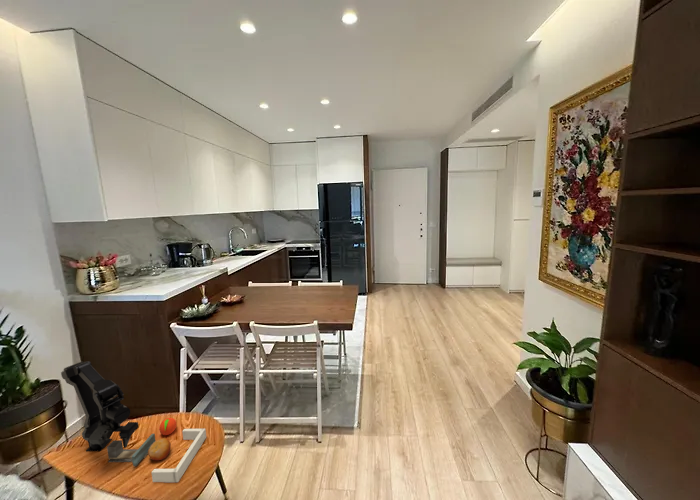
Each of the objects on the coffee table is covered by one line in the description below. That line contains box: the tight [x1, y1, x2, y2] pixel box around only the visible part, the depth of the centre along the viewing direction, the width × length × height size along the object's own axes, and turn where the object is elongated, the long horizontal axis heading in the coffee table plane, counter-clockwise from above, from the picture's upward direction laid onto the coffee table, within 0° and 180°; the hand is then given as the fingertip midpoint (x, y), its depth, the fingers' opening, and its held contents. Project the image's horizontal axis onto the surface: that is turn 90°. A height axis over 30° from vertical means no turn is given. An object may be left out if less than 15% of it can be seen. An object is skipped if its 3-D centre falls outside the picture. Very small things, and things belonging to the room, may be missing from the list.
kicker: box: [106, 433, 157, 467], centre depth 123 cm, size 15×12×6 cm
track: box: [107, 448, 139, 463], centre depth 124 cm, size 13×6×1 cm, turn 90°
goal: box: [151, 428, 207, 483], centre depth 122 cm, size 10×22×4 cm, turn 0°
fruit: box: [147, 437, 172, 461], centre depth 124 cm, size 8×8×8 cm
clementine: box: [158, 417, 177, 436], centre depth 135 cm, size 8×7×7 cm
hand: (114, 447), depth 123 cm, fingers open, 9 cm apart
